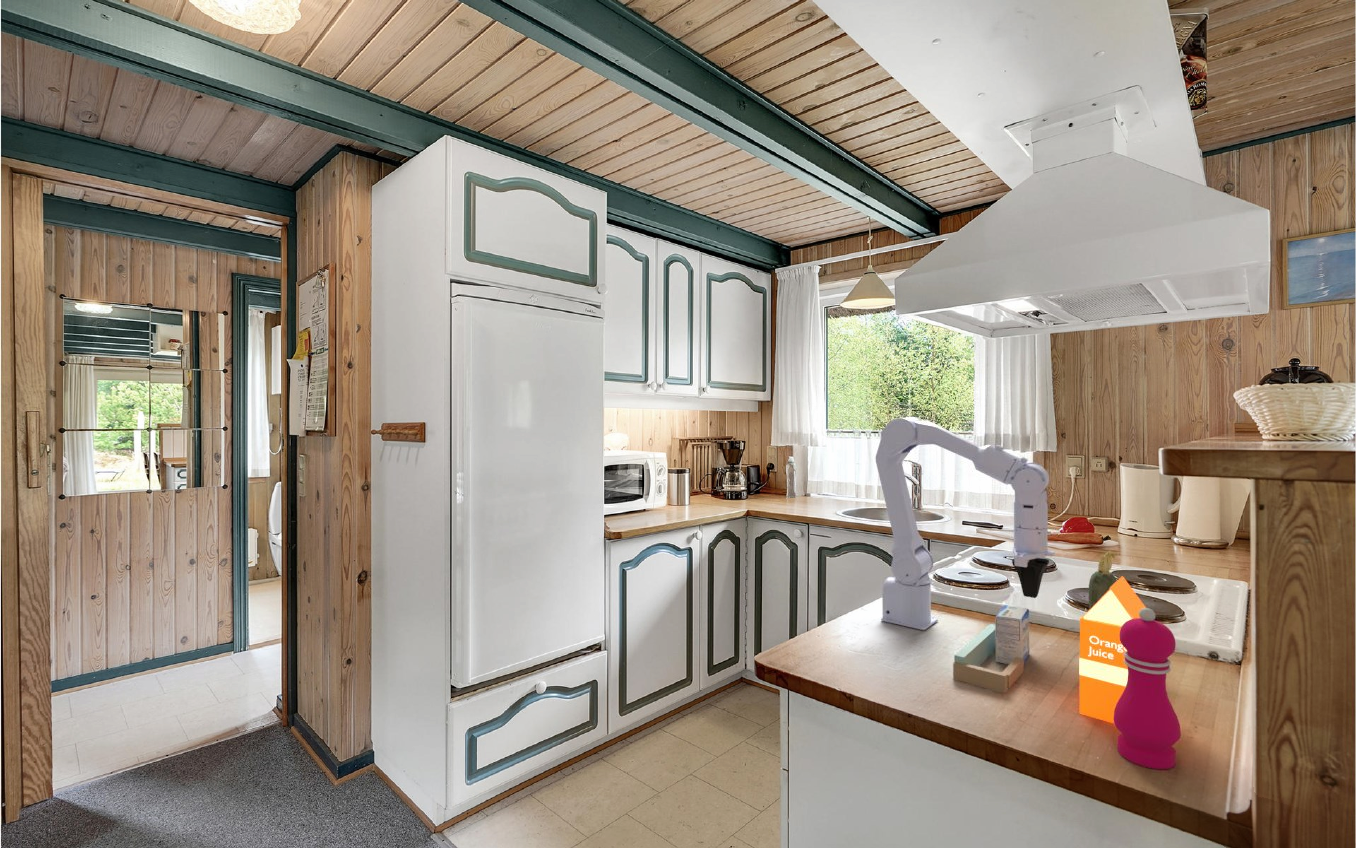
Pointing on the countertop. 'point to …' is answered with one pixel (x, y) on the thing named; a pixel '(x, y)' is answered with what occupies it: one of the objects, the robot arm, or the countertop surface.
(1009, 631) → the medicine box
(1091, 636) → the orange juice
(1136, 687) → the pepper mill
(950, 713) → the countertop surface
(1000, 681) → the board
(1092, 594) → the vegetable
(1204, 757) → the countertop surface
